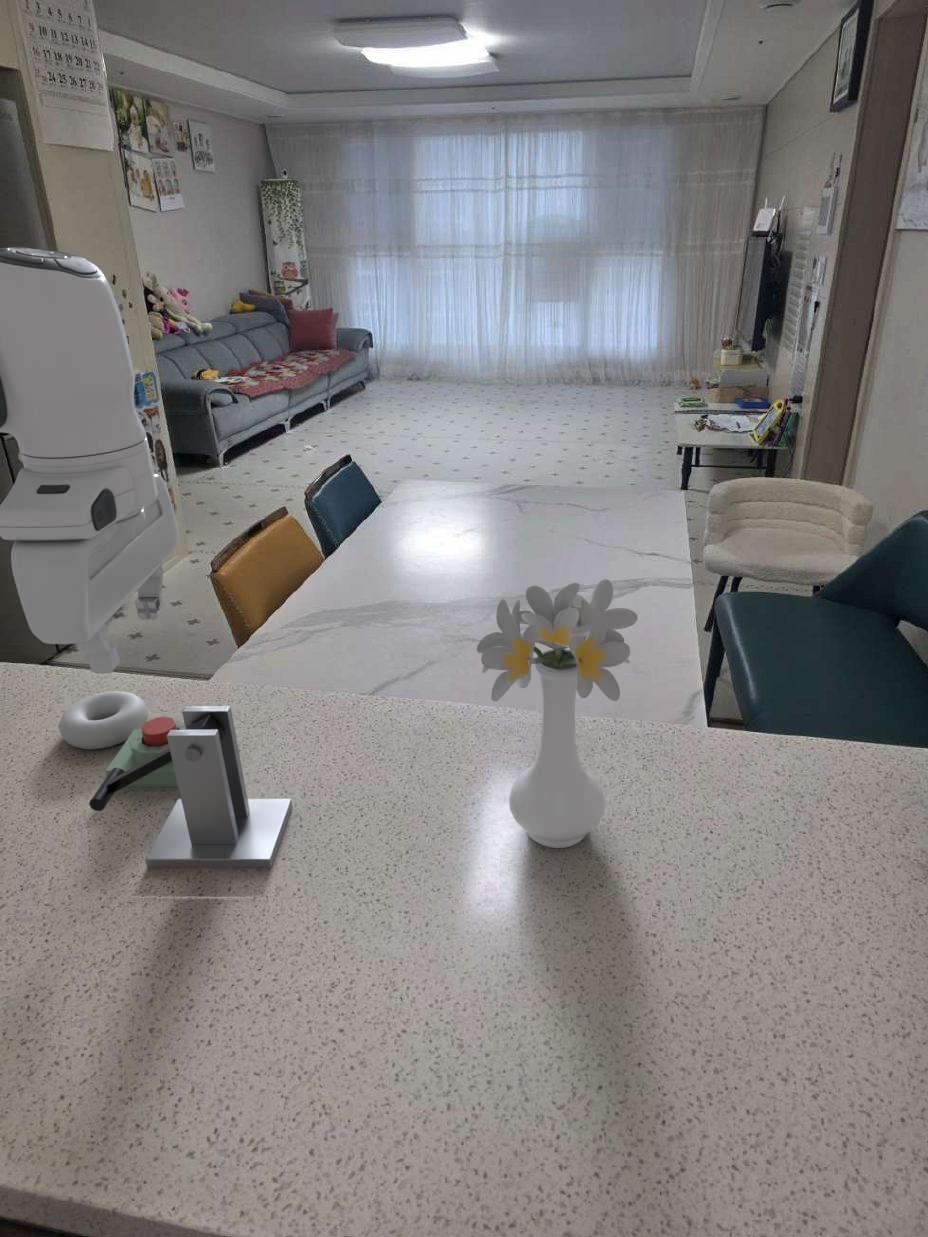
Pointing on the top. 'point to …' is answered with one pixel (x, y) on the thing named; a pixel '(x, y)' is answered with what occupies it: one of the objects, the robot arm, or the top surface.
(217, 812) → the bracket
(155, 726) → the button
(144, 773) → the lever
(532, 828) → the flower vase
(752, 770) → the top surface
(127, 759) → the button box
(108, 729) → the donut
